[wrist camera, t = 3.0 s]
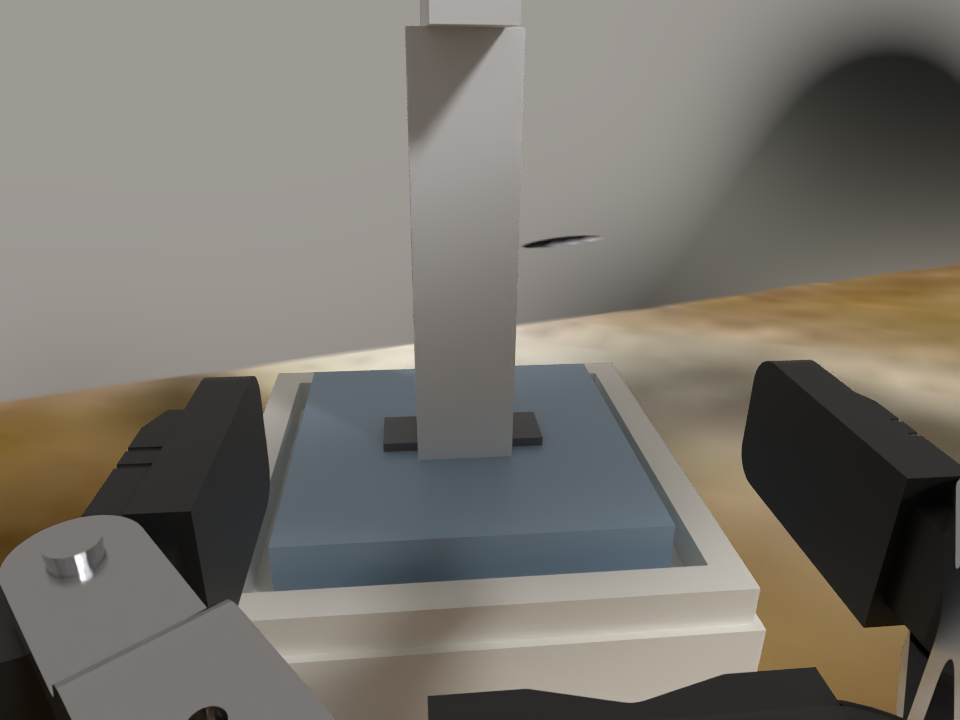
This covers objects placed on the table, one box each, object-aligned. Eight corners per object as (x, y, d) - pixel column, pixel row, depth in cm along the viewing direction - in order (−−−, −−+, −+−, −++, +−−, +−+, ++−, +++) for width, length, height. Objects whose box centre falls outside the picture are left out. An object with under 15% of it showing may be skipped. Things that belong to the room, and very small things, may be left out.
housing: (606, 460, 34) (615, 360, 32) (742, 736, 21) (774, 594, 19) (285, 474, 33) (273, 371, 31) (202, 781, 19) (171, 633, 17)
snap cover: (580, 406, 31) (613, -33, 24) (667, 583, 21) (764, -88, 14) (318, 416, 30) (276, -40, 23) (275, 607, 20) (179, -105, 13)
